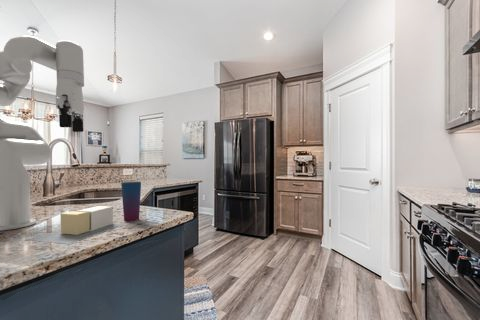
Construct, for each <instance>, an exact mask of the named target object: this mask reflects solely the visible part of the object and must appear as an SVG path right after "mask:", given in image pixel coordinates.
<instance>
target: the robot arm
mask: <svg viewBox="0 0 480 320" xmlns="http://www.w3.org/2000/svg"><path fill="white" fill-rule="evenodd" d="M32 62H34V63H36V64H39V65H42V66H44V67H46V68H49V69H51V70H53V71H56V88H55V108H56V109H57V110H58V118H59V119H58V120H59V121H58V122H59V125H58V126H59V127H60V128H72V132H73V133H83V132H84V96H83V87H85V68H84V50H83V48H82V46H81V45H80V44H78V43H77V42H74V41H71V40H67V39H64V40H58V41H57V42H56V43H55V46H54V45H52V44H50V43H49V42H46V41H44V40H42V39H39V38H38V37H35V36H30V35H22V36H18V37H17V36H16V37H12V38H9V40H8V41H7V42H6V43H5V45H4V48H3V50H2V51H0V81H2V82H3V83H2V84H0V107H8V106H11V105H12V104H14V103H15V101H16V100H17V98H19V96H20V94H21V93H22V91H24V90H25V88H26V86H27V85H28V84H29V82H30V79H31V72H32V70H33V64H32ZM51 159H52V150H51V147H50V145H49V144H48V142H46V140H45V139H44V138H43V137H42V135H41V134H40V133H39V132H38V131H37V130H36V129H35V128H34V127H33V126H31V125H30V124H28V123H25V122H22V121H21V122H20V121H13V120H9V119H5V118H4V117H3V116H1V115H0V232H1V231H9V230H14V229H15V230H17V229H22V228H26V227H30V226H33V225H35V224H36V223H37V219H36V218H31V175H30V173H29V171H28V170H27V168H26V167H25V166H29V165H30V166H32V165H33V166H35V165H36V166H37V165H43V164H47V163H48V162H49V161H50V160H51Z"/></svg>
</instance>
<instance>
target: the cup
mask: <svg viewBox="0 0 480 320" xmlns="http://www.w3.org/2000/svg"><path fill="white" fill-rule="evenodd" d="M120 184H121V195H122V200H121V201H122V209H123V221H124V222H127V223H128V222H129V223H130V222H137V221H139V220H140V213H141V211H140V210H141V207H140V206H141V191H142V181H137V180H136V181H135V180H134V181H122V182H120Z"/></svg>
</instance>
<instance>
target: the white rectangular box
mask: <svg viewBox="0 0 480 320" xmlns="http://www.w3.org/2000/svg"><path fill="white" fill-rule="evenodd" d="M113 209H114V207H113V206H105V205H103V206H102V205H97V206H93V207H87V208H83V209H80V210H77V211H89V231H92V230H95V229H98V228H101V227H104V226H107V225H110V224H113V223H114V215H113V214H114V212H113V211H114V210H113Z"/></svg>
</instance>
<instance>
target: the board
mask: <svg viewBox="0 0 480 320" xmlns="http://www.w3.org/2000/svg"><path fill="white" fill-rule="evenodd" d="M124 225H125V223H117V222H116V223H115V222H113V224H110V225H107V226H104V227H101V228H98V229H95V230H92V231H87V232H84V233H81V234H78V235H73V234H61V229H58V230H56V231H55V230H54V231H51V232H48V233H44V234H42V235H37V236H33V237H30V238H27V239H25V241H32V242H42V243H51V244H52V243H54V244H61V245H71V244H74V243H76V242H79V241H82V240H85V239H87V238H91V237H93V236H96V235H100V234H102V233H105V232H107V231H109V230H112V229H116V228H118V227H122V226H124Z"/></svg>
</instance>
